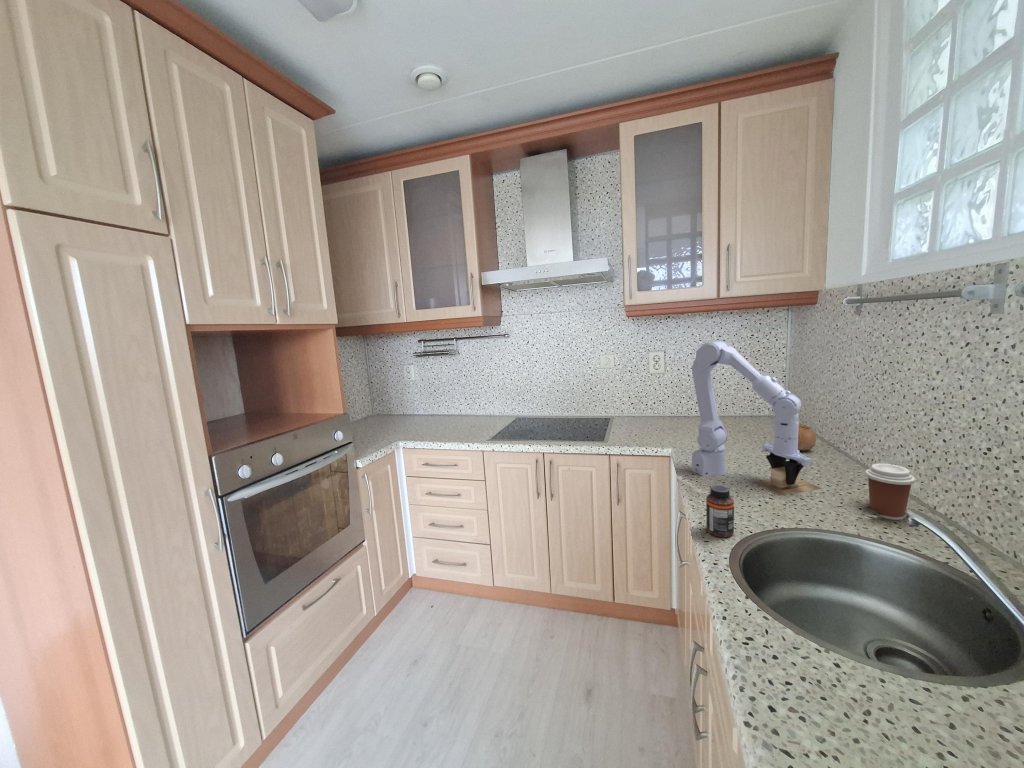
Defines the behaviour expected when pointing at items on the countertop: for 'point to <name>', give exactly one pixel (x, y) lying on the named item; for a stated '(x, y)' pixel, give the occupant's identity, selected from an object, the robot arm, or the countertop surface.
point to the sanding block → (781, 479)
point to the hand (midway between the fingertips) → (784, 481)
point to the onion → (805, 438)
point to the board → (802, 487)
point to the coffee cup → (889, 490)
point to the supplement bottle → (720, 512)
